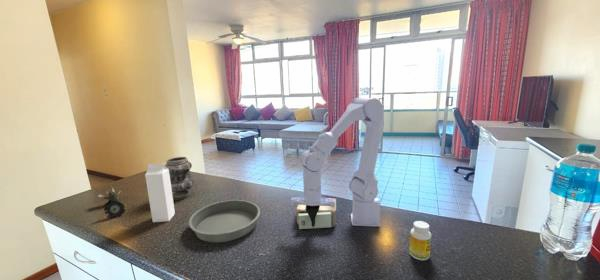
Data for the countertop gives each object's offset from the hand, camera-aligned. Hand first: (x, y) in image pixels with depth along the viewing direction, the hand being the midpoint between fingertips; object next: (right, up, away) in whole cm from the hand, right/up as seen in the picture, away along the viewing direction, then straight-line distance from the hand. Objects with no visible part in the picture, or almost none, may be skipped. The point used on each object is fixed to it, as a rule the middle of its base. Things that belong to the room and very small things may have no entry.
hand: (313, 225), depth 84 cm
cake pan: (-31, -3, +7) cm, 32 cm away
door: (+1, -2, +2) cm, 3 cm away
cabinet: (+2, -1, +10) cm, 10 cm away
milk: (-58, -2, +13) cm, 59 cm away
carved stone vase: (-61, +2, +35) cm, 70 cm away
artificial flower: (-85, -1, +24) cm, 88 cm away
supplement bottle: (+30, -4, -13) cm, 33 cm away
